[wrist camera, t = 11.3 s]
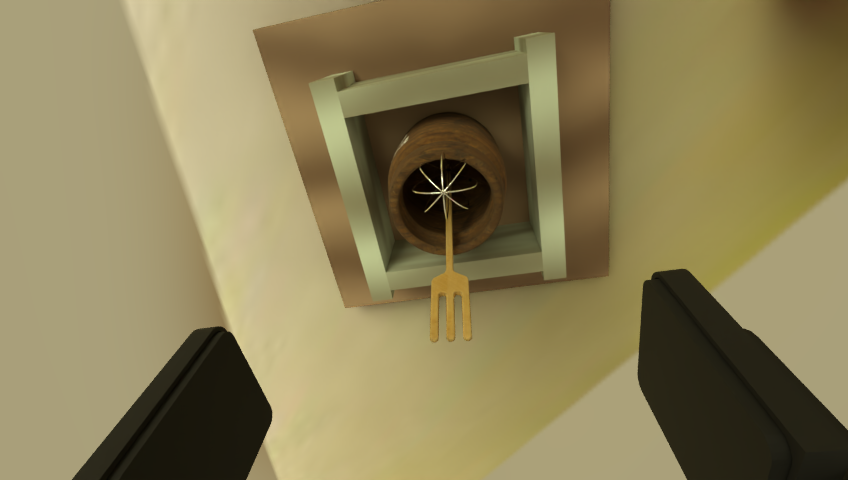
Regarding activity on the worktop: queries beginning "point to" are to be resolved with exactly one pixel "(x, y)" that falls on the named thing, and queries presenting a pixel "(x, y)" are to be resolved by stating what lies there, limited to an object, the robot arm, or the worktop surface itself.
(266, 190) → the worktop surface
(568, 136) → the collar stand
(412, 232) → the utensil holder
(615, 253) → the worktop surface
